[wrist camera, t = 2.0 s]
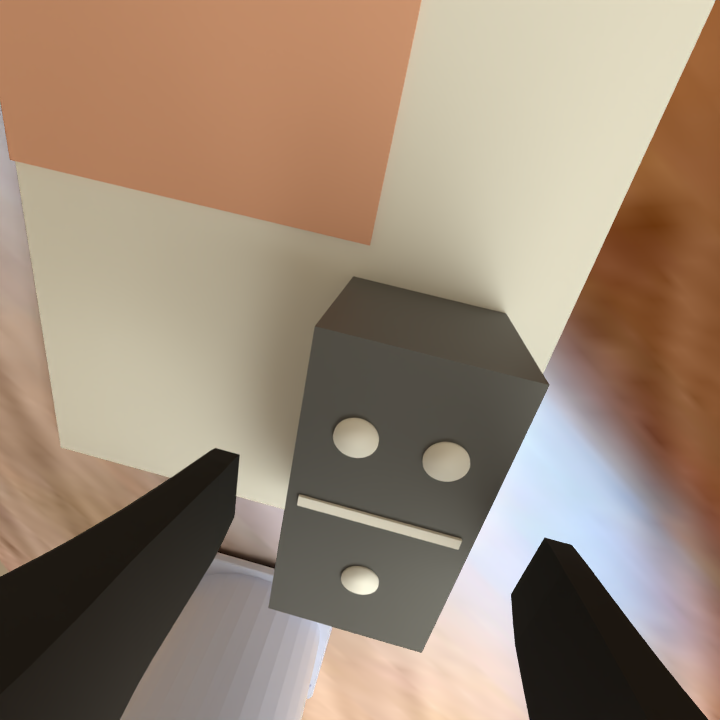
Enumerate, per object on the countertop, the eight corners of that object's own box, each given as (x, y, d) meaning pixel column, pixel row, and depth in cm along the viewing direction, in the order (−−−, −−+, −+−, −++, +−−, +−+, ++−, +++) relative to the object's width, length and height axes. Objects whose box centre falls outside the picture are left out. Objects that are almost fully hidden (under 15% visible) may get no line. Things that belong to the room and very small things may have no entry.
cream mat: (456, 545, 16) (458, 560, 16) (72, 439, 17) (57, 449, 16) (808, -236, 7) (848, -279, 7) (-44, -375, 8) (-87, -426, 7)
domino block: (422, 528, 15) (421, 655, 11) (309, 497, 16) (267, 610, 12) (506, 313, 12) (550, 386, 7) (353, 276, 12) (313, 326, 8)
